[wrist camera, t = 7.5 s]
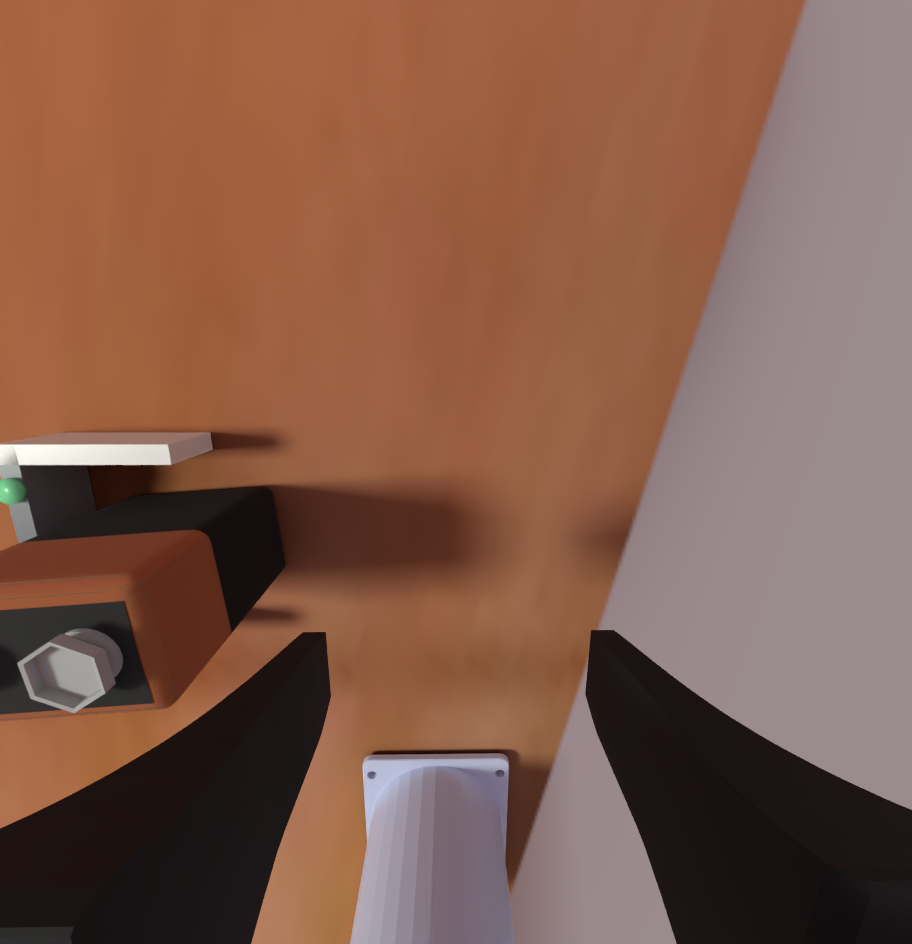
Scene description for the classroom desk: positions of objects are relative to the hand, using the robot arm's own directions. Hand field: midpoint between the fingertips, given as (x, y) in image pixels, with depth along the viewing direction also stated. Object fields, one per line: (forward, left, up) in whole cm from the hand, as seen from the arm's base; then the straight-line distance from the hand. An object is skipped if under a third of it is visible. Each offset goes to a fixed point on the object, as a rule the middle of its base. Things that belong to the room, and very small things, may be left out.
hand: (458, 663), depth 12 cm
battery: (0, +12, -10) cm, 15 cm away
